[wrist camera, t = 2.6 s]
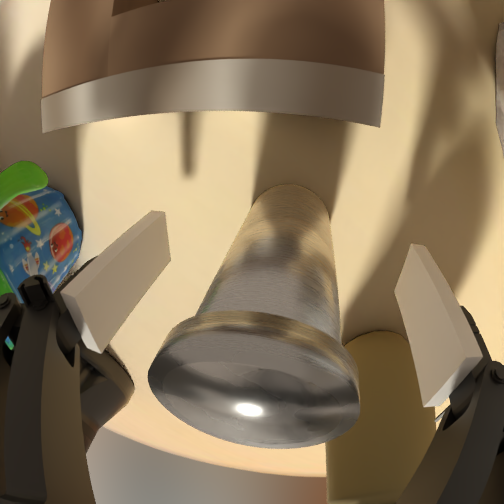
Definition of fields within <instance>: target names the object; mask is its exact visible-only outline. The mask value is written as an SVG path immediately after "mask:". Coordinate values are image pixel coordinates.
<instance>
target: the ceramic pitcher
mask: <svg viewBox="0 0 504 504" xmlns="http://www.w3.org/2000/svg"><path fill="white" fill-rule="evenodd" d="M496 87H497V92H496V108H497V115H496V125H497V129H498V134H499V138H500V141H501V145H502V150H503V155H504V22H503V23H499V32H498V38H497V45H496Z"/></svg>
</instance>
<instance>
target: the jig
mask: <svg viewBox="0 0 504 504" xmlns="http://www.w3.org/2000/svg"><path fill="white" fill-rule="evenodd" d="M384 60H385V14H384V0H167V1H163V2H159V3H158V0H51V3H50V8H49V14H48V20H47V26H46V34H45V42H44V53H43V70H42V99H41V117H42V132H43V133H46V132H50V131H54V130H58V129H62V128H66V127H71V126H76V125H80V124H85V123H91V122H96V121H102V120H108V119H114V118H121V117H129V116H137V115H146V114H157V113H170V112H187V111H256V112H273V113H286V114H297V115H307V116H315V117H323V118H330V119H337V120H343V121H349V122H355V123H360V124H365V125H370V126H375V127H380V123H381V114H382V103H383V91H384V76H385V75H384Z"/></svg>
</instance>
